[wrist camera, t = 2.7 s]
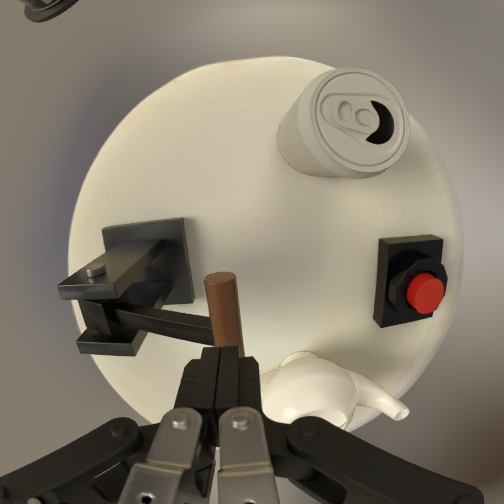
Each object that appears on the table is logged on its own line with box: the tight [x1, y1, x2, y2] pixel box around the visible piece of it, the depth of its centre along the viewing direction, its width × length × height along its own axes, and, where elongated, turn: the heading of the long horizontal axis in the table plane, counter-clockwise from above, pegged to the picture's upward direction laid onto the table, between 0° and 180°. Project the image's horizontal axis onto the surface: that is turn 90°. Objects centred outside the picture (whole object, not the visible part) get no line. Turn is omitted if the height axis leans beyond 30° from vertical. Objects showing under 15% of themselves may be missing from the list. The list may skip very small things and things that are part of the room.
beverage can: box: [277, 68, 410, 179], centre depth 18 cm, size 6×6×12 cm
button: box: [406, 273, 444, 314], centre depth 23 cm, size 4×4×2 cm
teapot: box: [260, 352, 409, 430], centre depth 26 cm, size 10×20×9 cm, turn 87°
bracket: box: [57, 218, 195, 356], centre depth 21 cm, size 8×8×12 cm
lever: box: [78, 272, 245, 357], centre depth 15 cm, size 11×6×2 cm, turn 94°
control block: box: [373, 235, 448, 328], centre depth 26 cm, size 9×7×4 cm
